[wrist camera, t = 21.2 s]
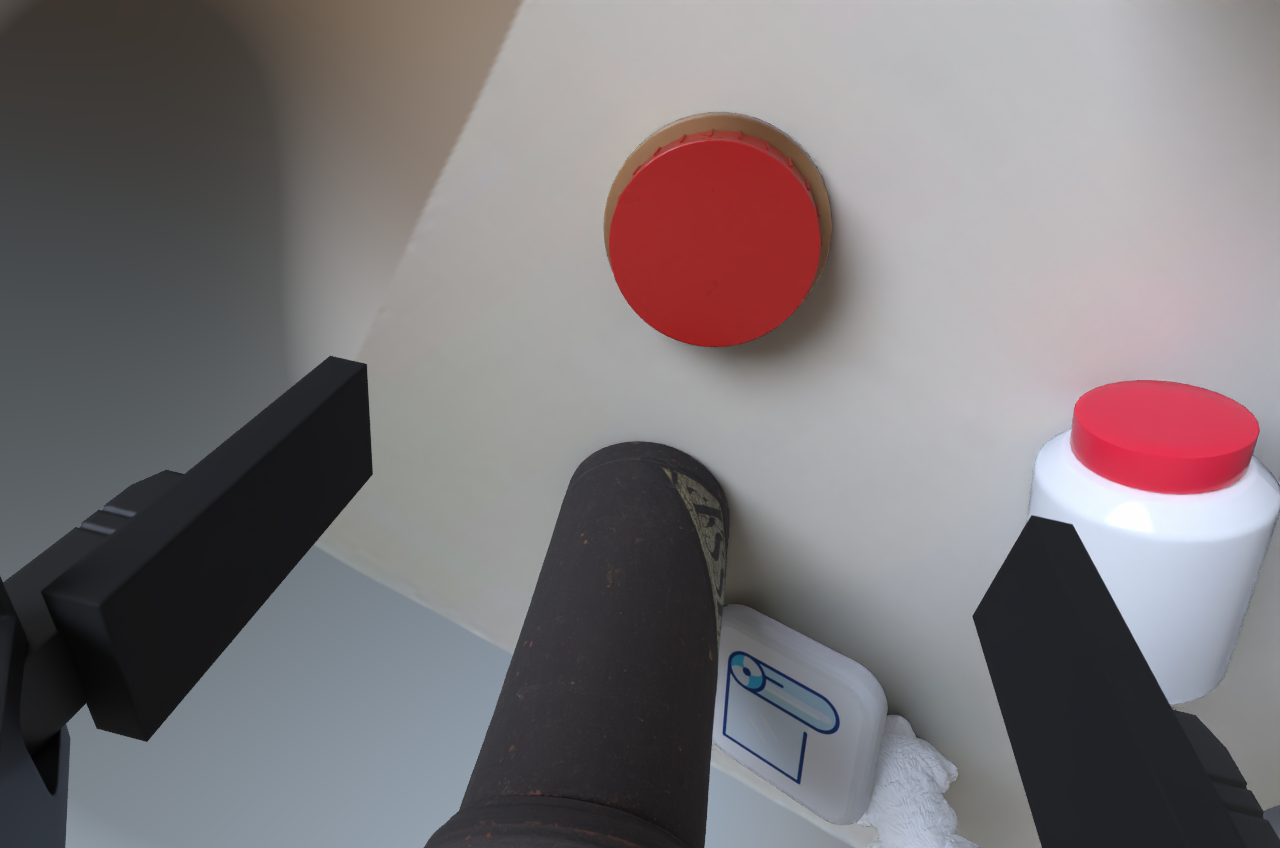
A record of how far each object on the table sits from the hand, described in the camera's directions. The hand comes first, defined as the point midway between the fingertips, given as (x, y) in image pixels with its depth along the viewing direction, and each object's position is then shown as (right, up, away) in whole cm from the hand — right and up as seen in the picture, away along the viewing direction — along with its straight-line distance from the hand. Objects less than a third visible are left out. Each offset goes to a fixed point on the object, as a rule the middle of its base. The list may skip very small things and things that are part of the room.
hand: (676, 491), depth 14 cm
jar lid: (+2, +8, +13) cm, 15 cm away
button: (+3, -12, +27) cm, 30 cm away
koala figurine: (+14, -17, +29) cm, 36 cm away
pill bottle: (+20, -8, +17) cm, 28 cm away
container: (0, -3, +23) cm, 23 cm away
